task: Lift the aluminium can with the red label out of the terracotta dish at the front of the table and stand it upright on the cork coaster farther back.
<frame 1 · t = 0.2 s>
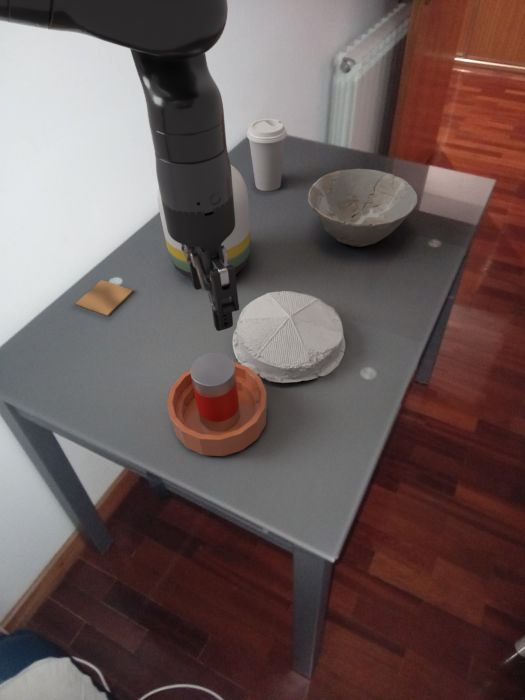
hand: (212, 306, 63), 21 cm above the table, tool pointing down, fingers open, 8 cm apart
coffee cup: (268, 185, 126), on the table
ceramic bowl: (356, 235, 109), on the table
white round slab: (288, 344, 87), on the table
vase: (212, 265, 103), on the table
dish: (220, 416, 77), on the table
coaster: (105, 298, 97), on the table
can: (219, 414, 76), point 1 cm above the table, touching dish
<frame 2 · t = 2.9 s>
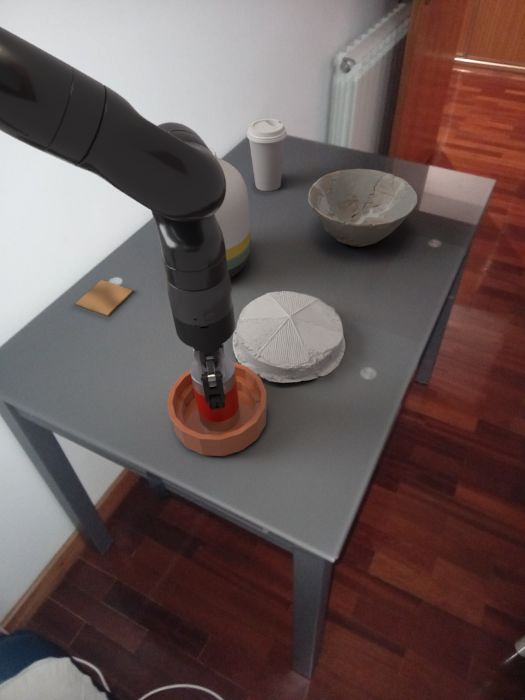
hand: (215, 387, 71), 7 cm above the table, tool pointing down, fingers closed on can, 6 cm apart
can: (219, 414, 76), point 1 cm above the table, touching dish, gripper
everything else where it was.
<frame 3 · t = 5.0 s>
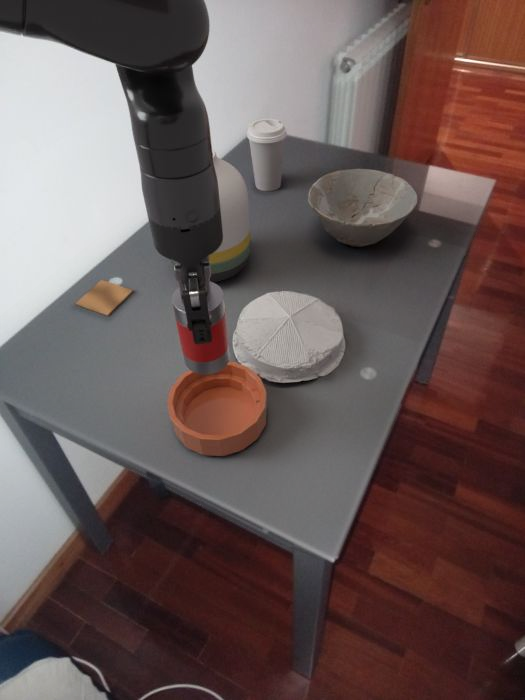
hand: (201, 322, 62), 20 cm above the table, tool pointing down, fingers closed on can, 6 cm apart
can: (207, 357, 67), point 13 cm above the table, touching gripper
everything else where it was.
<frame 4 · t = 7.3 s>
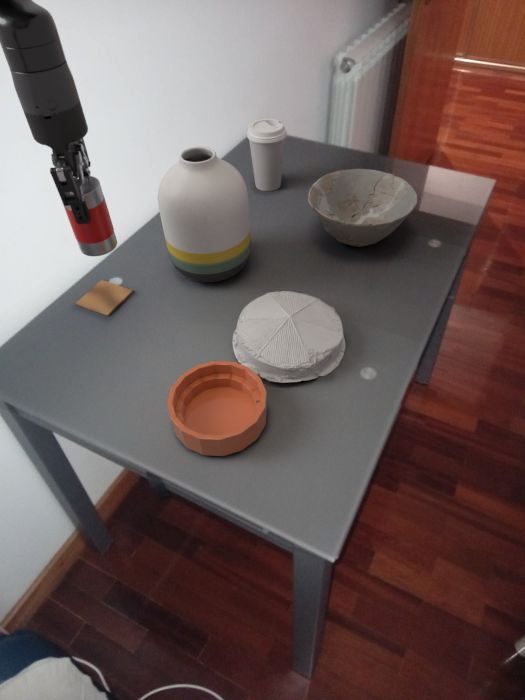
hand: (86, 210, 78), 22 cm above the table, tool pointing down, fingers closed on can, 6 cm apart
can: (98, 245, 83), point 15 cm above the table, touching gripper
everything else where it was.
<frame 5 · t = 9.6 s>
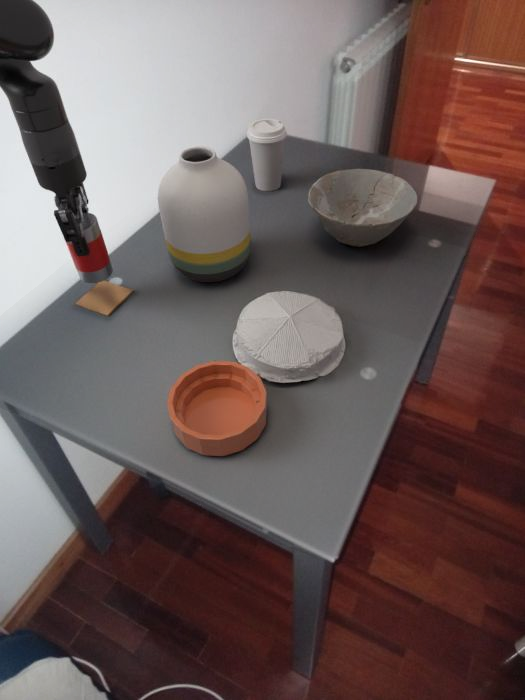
hand: (85, 243, 88), 13 cm above the table, tool pointing down, fingers closed on can, 6 cm apart
can: (96, 272, 92), point 6 cm above the table, touching gripper
everything else where it was.
when the fingers open (7 cm above the table, at t = 11.6 s): can stays where it is, resting on coaster.
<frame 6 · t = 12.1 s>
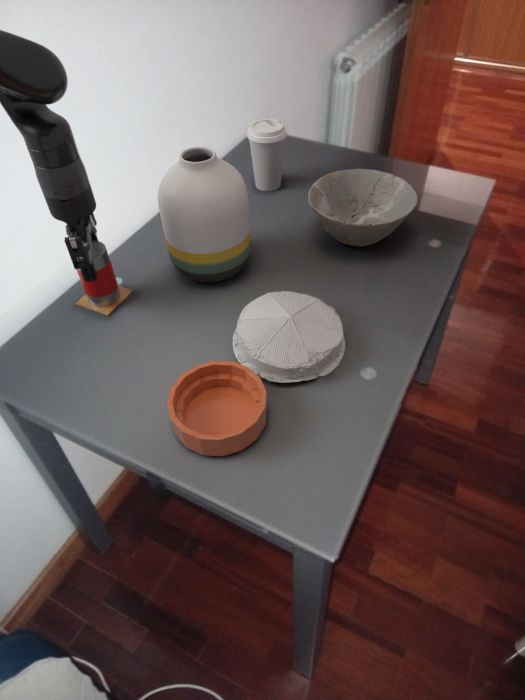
hand: (93, 265, 91), 8 cm above the table, tool pointing down, fingers open, 8 cm apart
can: (104, 296, 97), resting on coaster
everything else where it was.
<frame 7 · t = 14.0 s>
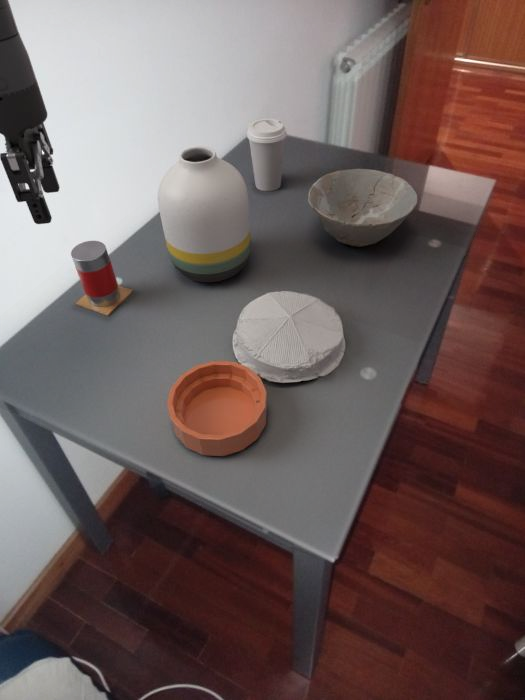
hand: (48, 206, 69), 27 cm above the table, tool pointing down, fingers open, 8 cm apart
nothing on the table moved.
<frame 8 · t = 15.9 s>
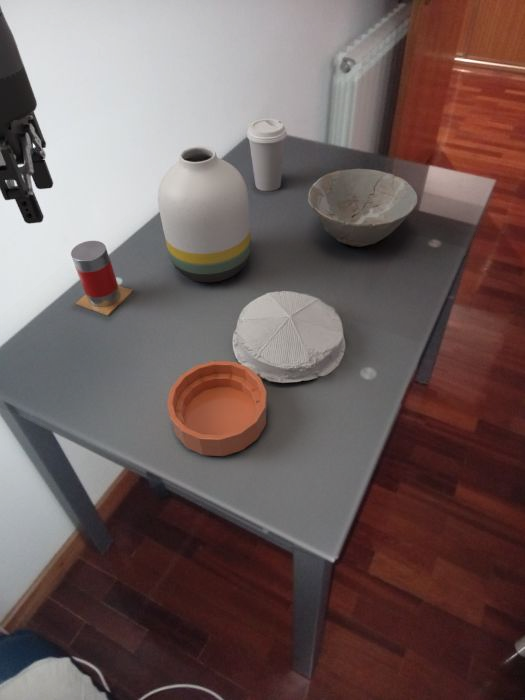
hand: (40, 203, 64), 30 cm above the table, tool pointing down, fingers open, 8 cm apart
nothing on the table moved.
at the end: can inside the target area on the coaster (0.0 cm from its centre), point 0.4 cm above the coaster's base; can tilted 0°; can touching coaster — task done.
